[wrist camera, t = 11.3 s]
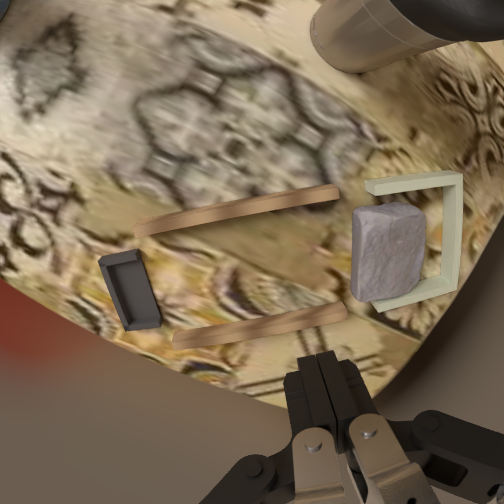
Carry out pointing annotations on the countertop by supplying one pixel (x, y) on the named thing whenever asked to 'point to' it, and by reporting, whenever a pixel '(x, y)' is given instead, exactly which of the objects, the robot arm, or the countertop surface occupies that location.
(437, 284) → the u-shaped green frame
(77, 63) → the countertop surface
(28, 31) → the countertop surface
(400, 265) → the stone block
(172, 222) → the channel
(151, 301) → the dark gray shallow tray
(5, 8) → the bottle
